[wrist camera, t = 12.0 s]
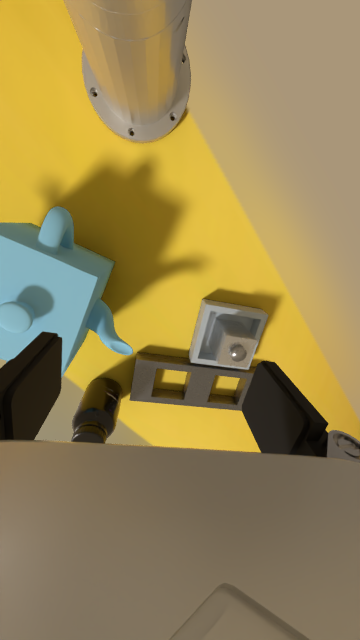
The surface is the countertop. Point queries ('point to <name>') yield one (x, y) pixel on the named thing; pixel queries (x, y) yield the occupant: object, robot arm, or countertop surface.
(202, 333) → the parts tray
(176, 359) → the rail
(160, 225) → the countertop surface
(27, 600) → the robot arm
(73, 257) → the teakettle
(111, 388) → the supplement bottle
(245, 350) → the beige block with knob
